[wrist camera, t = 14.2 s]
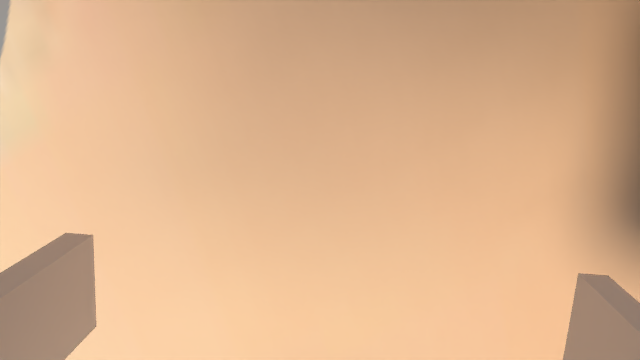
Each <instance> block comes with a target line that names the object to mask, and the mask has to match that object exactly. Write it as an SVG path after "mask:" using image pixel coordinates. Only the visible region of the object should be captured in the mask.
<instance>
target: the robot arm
mask: <svg viewBox="0 0 640 360" xmlns="http://www.w3.org/2000/svg"><path fill="white" fill-rule="evenodd" d="M95 327H96V304H95V276H94V248H93V235H86V234H73V233H65V234H63V235H62V236H60V237H58V238H57V239H55V240H54V241H52V242H50V243H49V244H47V245H45V246H44V247H42V248H40V249H39V250H37V251H36V252H34V253H32V254H31V255H29V256H27V257H26V258H24V259H22V260H21V261H19V262H18V263H16V264H14V265H13V266H11V267H9V268H8V269H6V270H4V271H3V272H1V273H0V360H64V359H65V358H66V357H67V356H68V355H69V354H70V353H71V352H72V351H73V350H74V349H75V348H76V347H77V346H78V345H79V344H80V343H81V342H82V341H83V340H84V339H85V338H86V337H87V335H88V334H89V333H90V332H91V331H92V330H93V329H94V328H95ZM563 360H640V303H639V302H638V301H637V300H635V299H634V298H633V297H632V296H631V295H630V294H629V293H627V292H626V291H625V290H624V289H623V288H622V287H620V286H619V285H618V284H617V283H616V282H615V281H614V280H612V279H611V278H610V277H609V276H606V275H593V274H581V273H578V278H577V284H576V289H575V295H574V301H573V306H572V312H571V318H570V323H569V329H568V334H567V340H566V346H565V351H564V357H563Z"/></svg>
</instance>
